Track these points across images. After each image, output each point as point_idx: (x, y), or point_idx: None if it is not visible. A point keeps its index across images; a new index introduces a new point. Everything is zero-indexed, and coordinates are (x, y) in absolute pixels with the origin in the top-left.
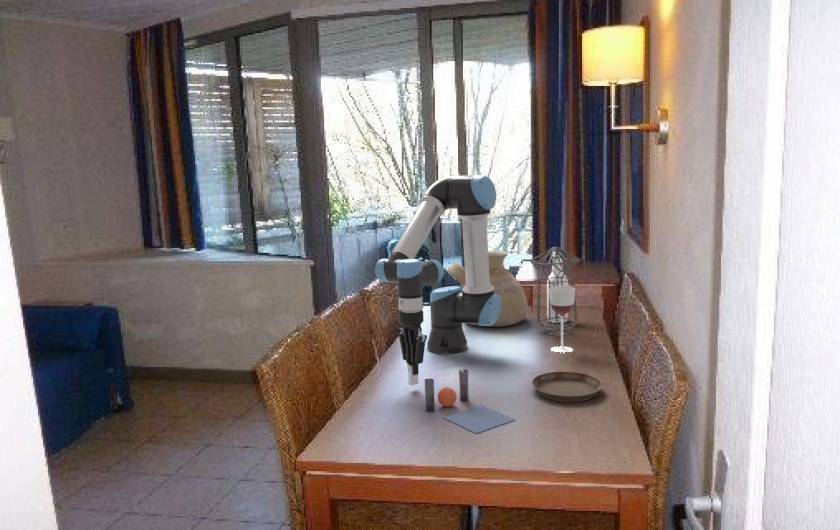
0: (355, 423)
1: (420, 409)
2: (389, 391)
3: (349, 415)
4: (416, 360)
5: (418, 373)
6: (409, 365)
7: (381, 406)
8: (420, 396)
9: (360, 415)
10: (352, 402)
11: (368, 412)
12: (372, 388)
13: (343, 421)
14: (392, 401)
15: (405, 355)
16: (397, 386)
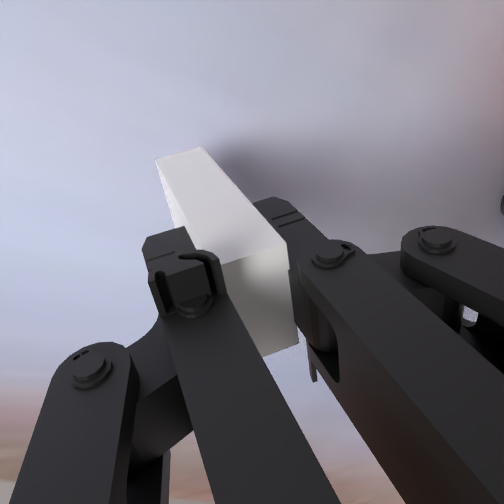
0: None
1: (479, 236)
2: (127, 339)
3: (335, 489)
4: (483, 356)
5: (283, 200)
6: (268, 347)
7: (329, 392)
8: (329, 173)
9: (360, 459)
10: (207, 498)
11: (354, 436)
12: (10, 430)
13: (369, 498)
14: (302, 342)
15: (165, 486)
16: (29, 272)
